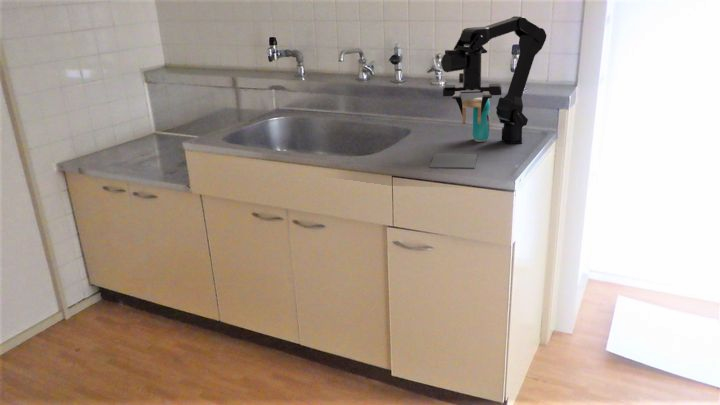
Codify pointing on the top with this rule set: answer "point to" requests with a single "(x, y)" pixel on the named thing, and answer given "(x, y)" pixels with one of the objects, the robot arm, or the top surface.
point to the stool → (471, 104)
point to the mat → (454, 161)
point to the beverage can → (481, 129)
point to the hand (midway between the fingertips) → (471, 115)
